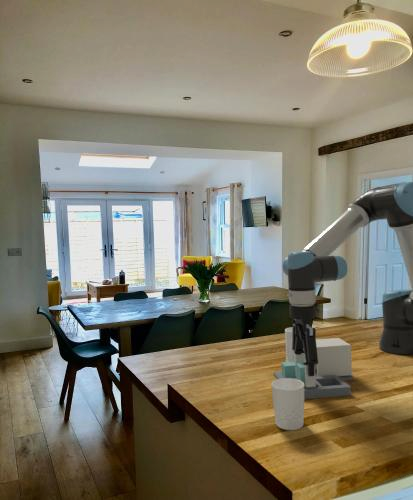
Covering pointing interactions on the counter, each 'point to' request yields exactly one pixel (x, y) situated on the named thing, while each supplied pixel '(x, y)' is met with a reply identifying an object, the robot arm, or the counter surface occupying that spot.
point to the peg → (300, 373)
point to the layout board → (345, 378)
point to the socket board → (327, 387)
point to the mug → (289, 346)
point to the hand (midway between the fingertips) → (305, 380)
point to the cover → (333, 357)
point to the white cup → (288, 403)
